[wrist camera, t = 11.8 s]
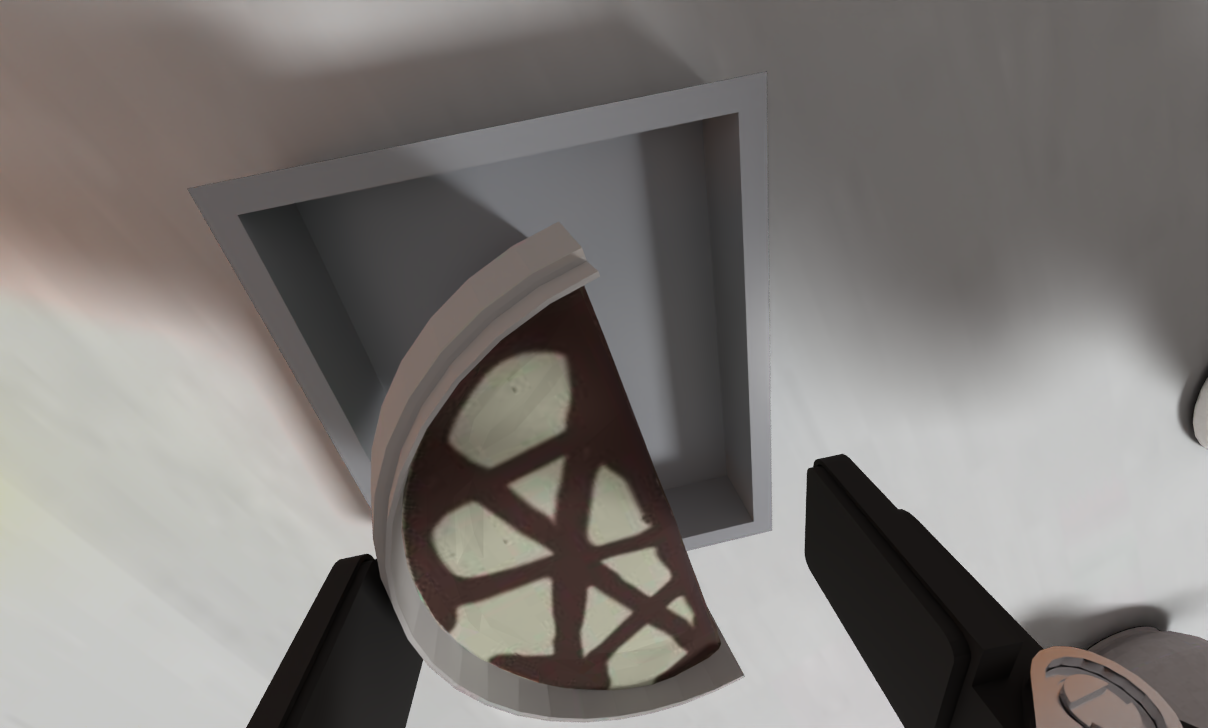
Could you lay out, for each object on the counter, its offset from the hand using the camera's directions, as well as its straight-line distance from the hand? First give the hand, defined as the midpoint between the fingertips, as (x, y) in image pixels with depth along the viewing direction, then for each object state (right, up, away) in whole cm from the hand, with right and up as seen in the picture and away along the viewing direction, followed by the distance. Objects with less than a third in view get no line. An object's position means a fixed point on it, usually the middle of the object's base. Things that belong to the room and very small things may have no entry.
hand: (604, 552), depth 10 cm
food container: (-4, +3, +8) cm, 9 cm away
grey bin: (-2, +4, +9) cm, 10 cm away
